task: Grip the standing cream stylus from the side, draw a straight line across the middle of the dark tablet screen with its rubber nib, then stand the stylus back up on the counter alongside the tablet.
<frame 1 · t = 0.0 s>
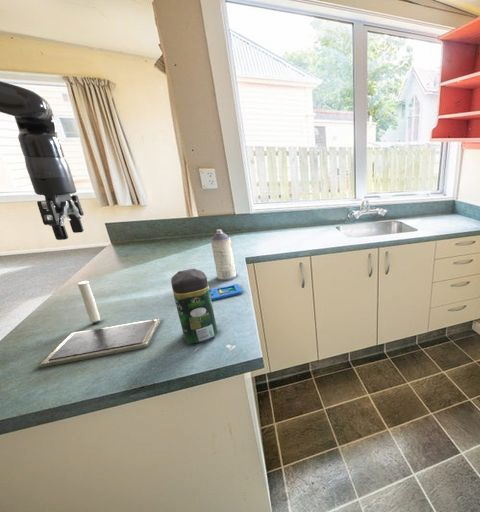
hand: (70, 235, 82), 26 cm above the worktop, tool pointing down, fingers open, 8 cm apart
tablet: (108, 341, 78), on the worktop
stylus: (96, 323, 87), on the worktop
aerosol can: (227, 277, 121), on the worktop
coffee jar: (201, 335, 82), on the worktop
handheld gaming device: (217, 294, 106), on the worktop
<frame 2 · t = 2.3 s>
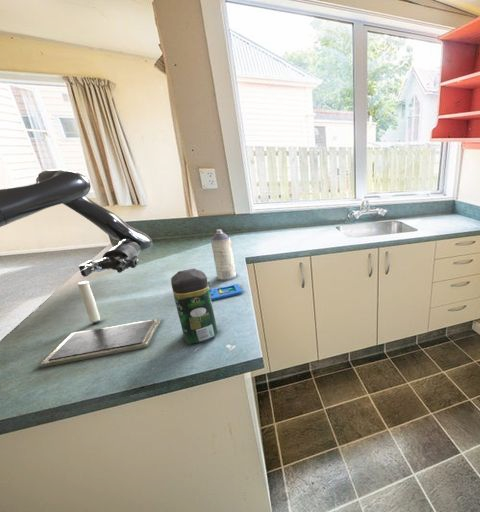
hand: (101, 271, 93), 12 cm above the worktop, tool horizontal, fingers open, 8 cm apart
nothing on the worktop moved.
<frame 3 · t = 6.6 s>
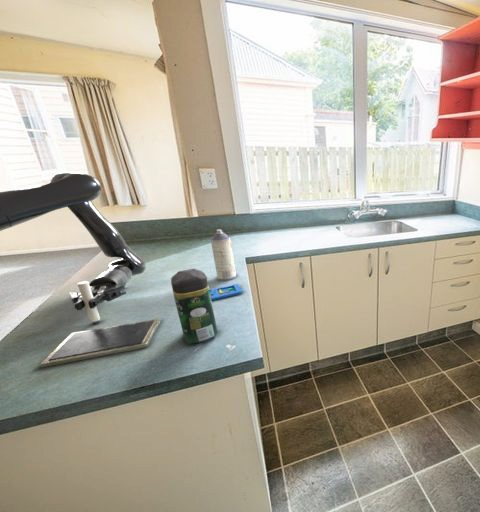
hand: (84, 306, 82), 7 cm above the worktop, tool horizontal, fingers closed on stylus, 2 cm apart
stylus: (96, 323, 87), on the worktop, touching gripper
everything else where it was.
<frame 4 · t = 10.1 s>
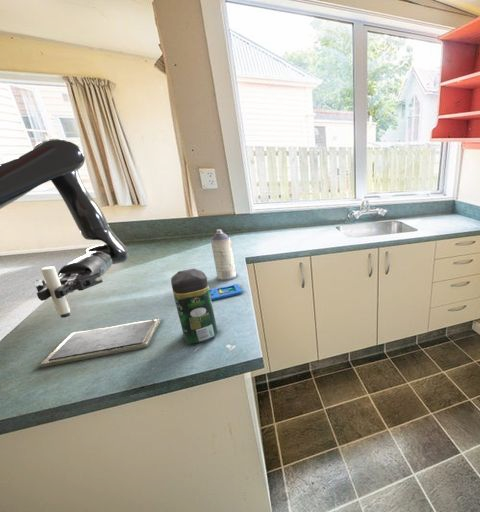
hand: (49, 295, 69), 16 cm above the worktop, tool horizontal, fingers closed on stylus
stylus: (65, 316, 74), point 9 cm above the worktop, touching gripper
everything else where it was.
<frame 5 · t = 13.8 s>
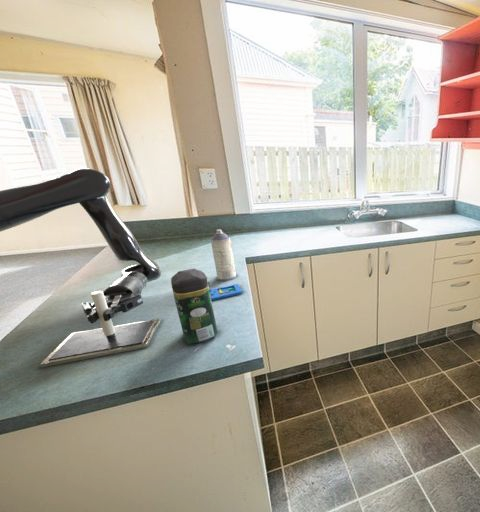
hand: (98, 318, 74), 8 cm above the worktop, tool horizontal, fingers closed on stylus, 2 cm apart
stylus: (111, 336, 78), point 1 cm above the worktop, touching gripper, tablet
everything else where it was.
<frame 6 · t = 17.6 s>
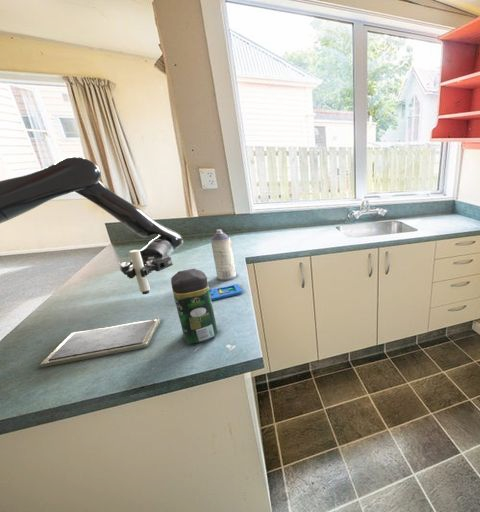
hand: (136, 274, 81), 16 cm above the worktop, tool horizontal, fingers closed on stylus
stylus: (145, 293, 86), point 9 cm above the worktop, touching gripper
everything else where it was.
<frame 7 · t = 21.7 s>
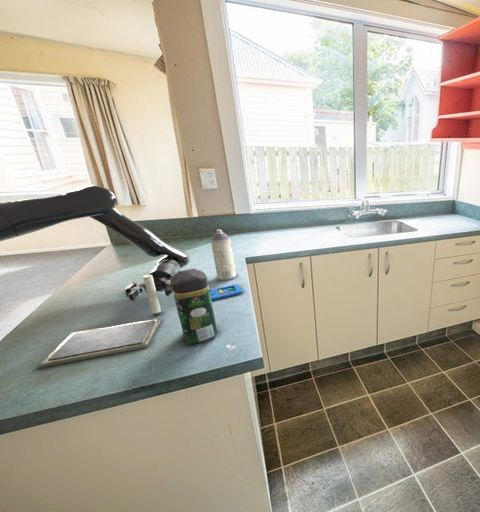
hand: (149, 295, 88), 8 cm above the worktop, tool horizontal, fingers open, 8 cm apart
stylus: (157, 314, 92), on the worktop
everything else where it was.
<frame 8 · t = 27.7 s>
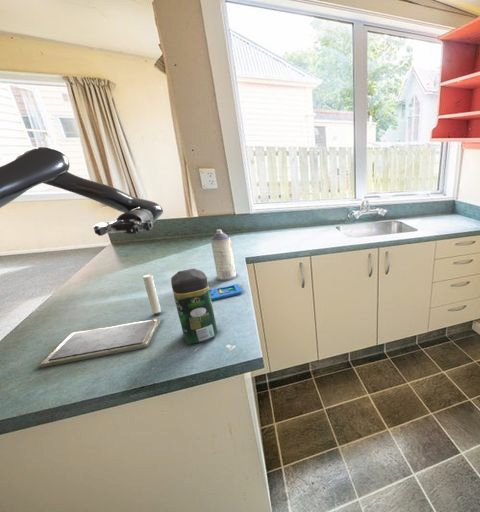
hand: (116, 231, 91), 25 cm above the worktop, tool horizontal, fingers open, 8 cm apart
nothing on the worktop moved.
at the end: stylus inside the target area (0.2 cm from its centre), on the worktop; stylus tilted 0°; the gripper is holding nothing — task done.
